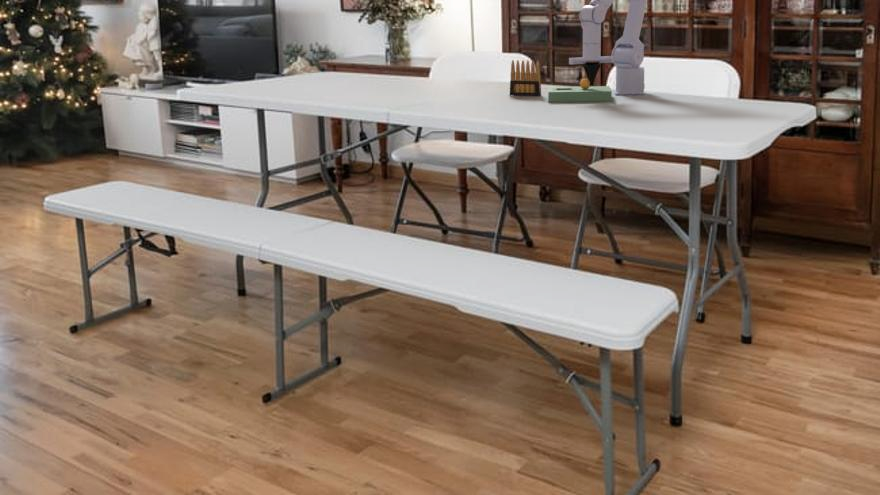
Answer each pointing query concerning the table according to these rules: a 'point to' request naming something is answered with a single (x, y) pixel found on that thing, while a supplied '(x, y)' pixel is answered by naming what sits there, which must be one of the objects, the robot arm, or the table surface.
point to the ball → (585, 83)
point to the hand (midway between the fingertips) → (591, 86)
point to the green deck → (580, 94)
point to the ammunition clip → (525, 80)
